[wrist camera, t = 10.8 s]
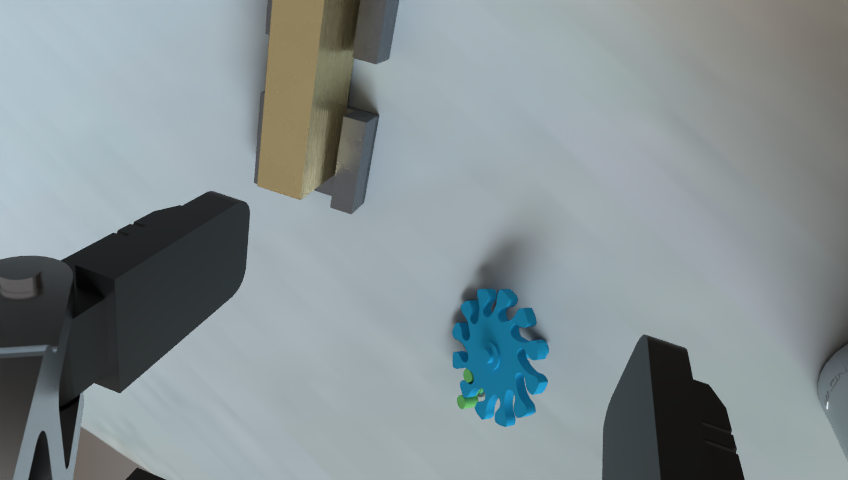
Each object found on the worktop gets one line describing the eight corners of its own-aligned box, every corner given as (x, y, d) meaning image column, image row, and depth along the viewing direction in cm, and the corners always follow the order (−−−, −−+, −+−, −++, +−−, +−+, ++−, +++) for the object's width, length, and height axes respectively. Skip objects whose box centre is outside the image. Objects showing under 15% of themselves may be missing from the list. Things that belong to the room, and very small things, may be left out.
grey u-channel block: (408, -53, 37) (395, -54, 35) (364, 202, 46) (351, 214, 43) (293, -81, 39) (274, -83, 36) (270, 172, 47) (254, 182, 45)
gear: (487, 259, 43) (556, 377, 37) (546, 258, 46) (618, 367, 40) (425, 348, 49) (475, 460, 44) (481, 342, 53) (535, 446, 47)
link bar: (366, -27, 38) (327, -26, 33) (337, 172, 45) (300, 199, 39) (321, -38, 39) (275, -40, 33) (298, 160, 45) (257, 186, 40)
